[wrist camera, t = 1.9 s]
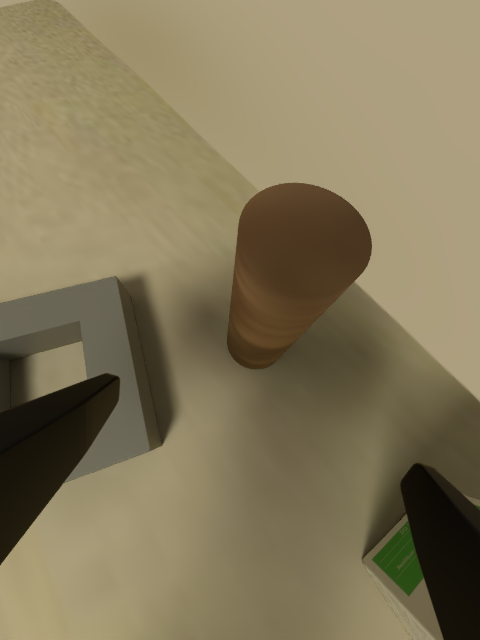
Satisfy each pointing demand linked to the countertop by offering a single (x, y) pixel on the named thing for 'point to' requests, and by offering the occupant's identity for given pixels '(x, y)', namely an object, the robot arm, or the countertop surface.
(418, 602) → the skincare box
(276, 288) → the walnut peg
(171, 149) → the countertop surface
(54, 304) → the socket block
